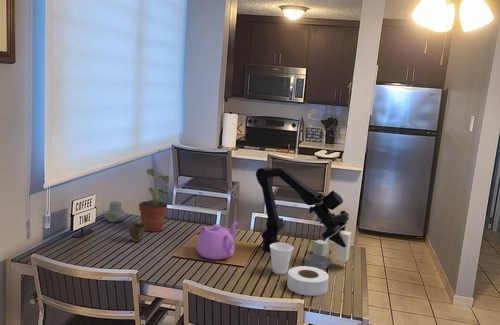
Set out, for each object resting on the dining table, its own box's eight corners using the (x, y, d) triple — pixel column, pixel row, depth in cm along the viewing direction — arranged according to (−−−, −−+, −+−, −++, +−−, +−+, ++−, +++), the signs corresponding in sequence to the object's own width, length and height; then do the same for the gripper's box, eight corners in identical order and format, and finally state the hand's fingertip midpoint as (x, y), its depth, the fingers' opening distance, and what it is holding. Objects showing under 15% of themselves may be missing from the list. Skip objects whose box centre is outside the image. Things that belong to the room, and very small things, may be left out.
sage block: (321, 257, 205) (323, 244, 204) (312, 253, 208) (313, 241, 208) (327, 254, 209) (328, 242, 208) (318, 251, 212) (319, 239, 211)
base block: (304, 267, 191) (305, 259, 191) (311, 262, 198) (312, 254, 198) (321, 272, 187) (322, 263, 187) (328, 267, 194) (329, 258, 194)
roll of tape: (281, 290, 167) (283, 276, 167) (292, 275, 182) (293, 262, 181) (323, 300, 162) (324, 285, 161) (330, 283, 177) (332, 270, 176)
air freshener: (101, 221, 234) (102, 203, 233) (109, 217, 242) (109, 199, 241) (121, 224, 233) (121, 205, 231) (128, 219, 241) (128, 201, 239)
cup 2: (275, 278, 178) (277, 251, 176) (263, 268, 187) (265, 243, 185) (296, 274, 183) (298, 249, 181) (283, 265, 191) (285, 241, 189)
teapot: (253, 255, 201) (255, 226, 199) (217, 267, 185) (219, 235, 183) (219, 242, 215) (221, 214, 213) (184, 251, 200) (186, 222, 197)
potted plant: (165, 235, 220) (168, 165, 215) (134, 232, 220) (137, 163, 215) (171, 225, 235) (174, 160, 230) (142, 223, 235) (145, 158, 230)
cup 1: (125, 242, 206) (125, 225, 205) (134, 237, 213) (135, 221, 212) (138, 245, 204) (138, 228, 202) (147, 240, 211) (148, 224, 209)
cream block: (335, 259, 193) (338, 233, 191) (338, 256, 197) (341, 230, 195) (345, 262, 191) (348, 235, 189) (348, 258, 195) (351, 232, 193)
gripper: (332, 209, 184) (355, 241, 181) (344, 201, 200) (366, 230, 197) (312, 224, 189) (335, 255, 185) (326, 215, 205) (347, 243, 202)
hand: (346, 245), depth 192 cm, fingers closed on cream block, 5 cm apart
